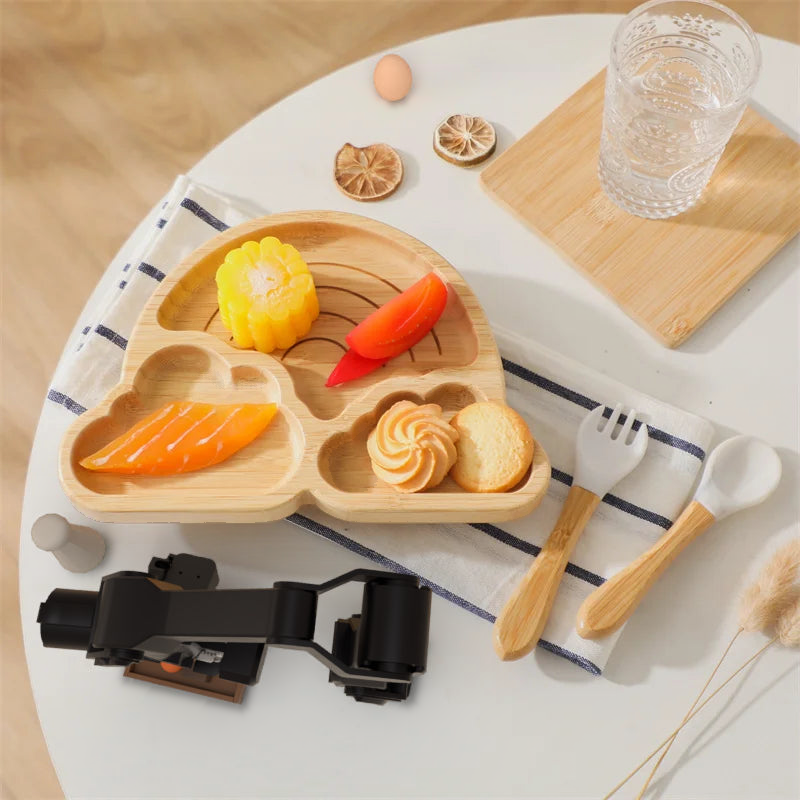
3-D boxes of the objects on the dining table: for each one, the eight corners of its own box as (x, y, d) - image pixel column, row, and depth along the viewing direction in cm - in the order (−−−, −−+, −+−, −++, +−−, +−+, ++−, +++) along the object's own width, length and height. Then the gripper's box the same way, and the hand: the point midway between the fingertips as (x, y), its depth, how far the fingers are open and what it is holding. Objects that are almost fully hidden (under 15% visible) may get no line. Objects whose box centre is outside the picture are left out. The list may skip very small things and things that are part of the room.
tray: (264, 618, 111) (261, 616, 109) (241, 704, 107) (237, 703, 105) (154, 593, 112) (149, 590, 111) (128, 677, 109) (122, 675, 107)
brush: (227, 622, 110) (213, 613, 103) (209, 683, 107) (194, 678, 100) (203, 617, 110) (188, 608, 103) (185, 677, 108) (168, 672, 101)
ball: (191, 649, 107) (166, 643, 106) (183, 675, 106) (158, 669, 105) (188, 649, 110) (163, 643, 109) (180, 675, 109) (155, 669, 108)
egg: (403, 74, 140) (401, 38, 133) (418, 101, 138) (417, 66, 131) (369, 87, 139) (365, 51, 132) (384, 115, 137) (381, 80, 130)
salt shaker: (102, 581, 113) (61, 560, 101) (59, 572, 114) (13, 550, 102) (116, 535, 115) (78, 510, 103) (74, 527, 116) (31, 500, 104)
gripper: (272, 570, 93) (294, 595, 107) (101, 532, 95) (146, 562, 109) (241, 682, 89) (269, 692, 103) (63, 639, 91) (115, 655, 106)
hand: (199, 646), depth 106 cm, fingers closed on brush, 2 cm apart
